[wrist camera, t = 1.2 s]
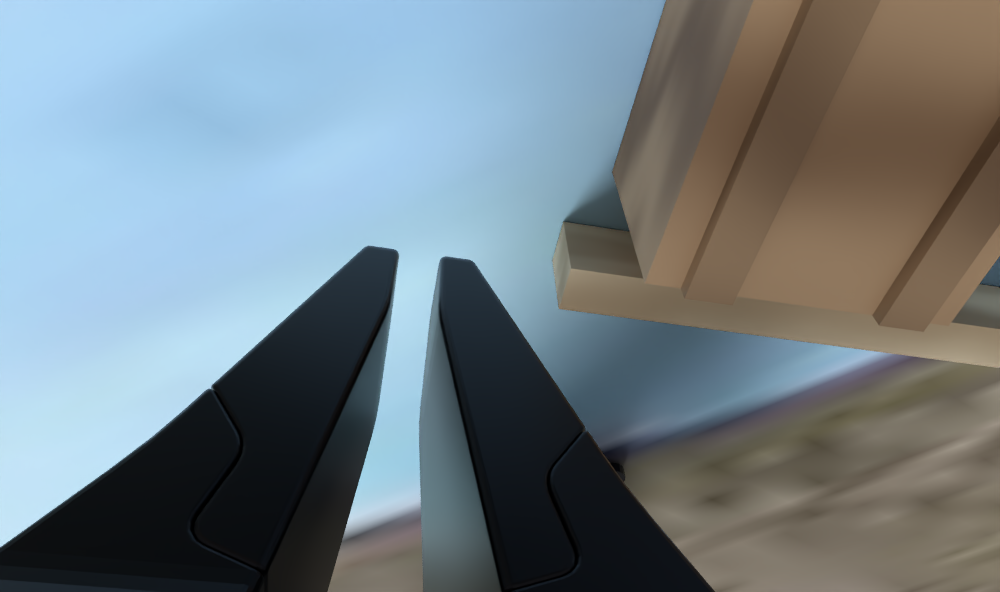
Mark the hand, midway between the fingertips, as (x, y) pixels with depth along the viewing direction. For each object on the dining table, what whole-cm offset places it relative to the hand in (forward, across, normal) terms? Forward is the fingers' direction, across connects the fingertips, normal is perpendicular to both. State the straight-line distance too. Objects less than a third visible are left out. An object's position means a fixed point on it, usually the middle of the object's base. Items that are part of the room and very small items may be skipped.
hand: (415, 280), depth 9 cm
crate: (+12, -10, 0) cm, 15 cm away
